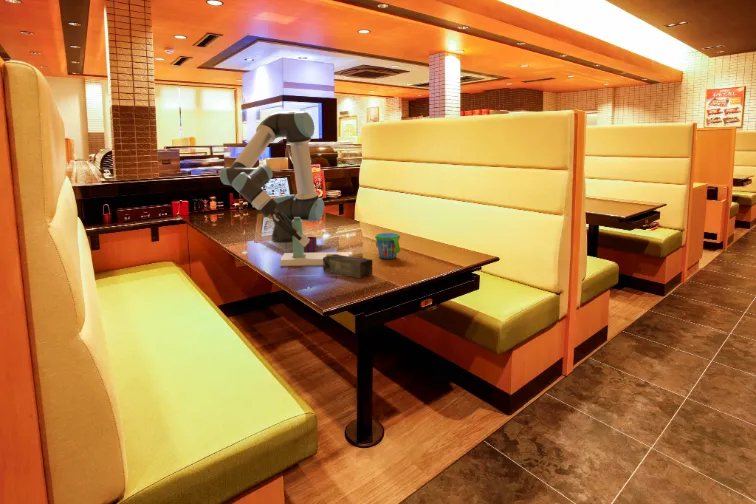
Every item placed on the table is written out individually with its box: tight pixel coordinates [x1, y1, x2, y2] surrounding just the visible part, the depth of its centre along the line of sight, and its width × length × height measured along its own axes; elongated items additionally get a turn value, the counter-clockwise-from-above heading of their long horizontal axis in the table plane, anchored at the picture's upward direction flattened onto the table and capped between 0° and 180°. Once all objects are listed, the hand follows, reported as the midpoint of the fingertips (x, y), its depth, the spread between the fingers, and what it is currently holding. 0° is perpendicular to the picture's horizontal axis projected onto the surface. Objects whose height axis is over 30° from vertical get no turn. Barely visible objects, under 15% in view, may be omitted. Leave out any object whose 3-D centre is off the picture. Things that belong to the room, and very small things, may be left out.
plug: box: [292, 217, 304, 257], centre depth 200 cm, size 4×4×16 cm
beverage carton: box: [322, 254, 373, 279], centre depth 187 cm, size 8×19×7 cm, turn 56°
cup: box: [304, 236, 318, 253], centre depth 221 cm, size 7×10×7 cm
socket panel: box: [280, 251, 350, 268], centre depth 203 cm, size 12×28×3 cm, turn 93°
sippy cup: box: [374, 232, 401, 260], centre depth 210 cm, size 16×10×10 cm
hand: (307, 243), depth 201 cm, fingers closed on plug, 4 cm apart
